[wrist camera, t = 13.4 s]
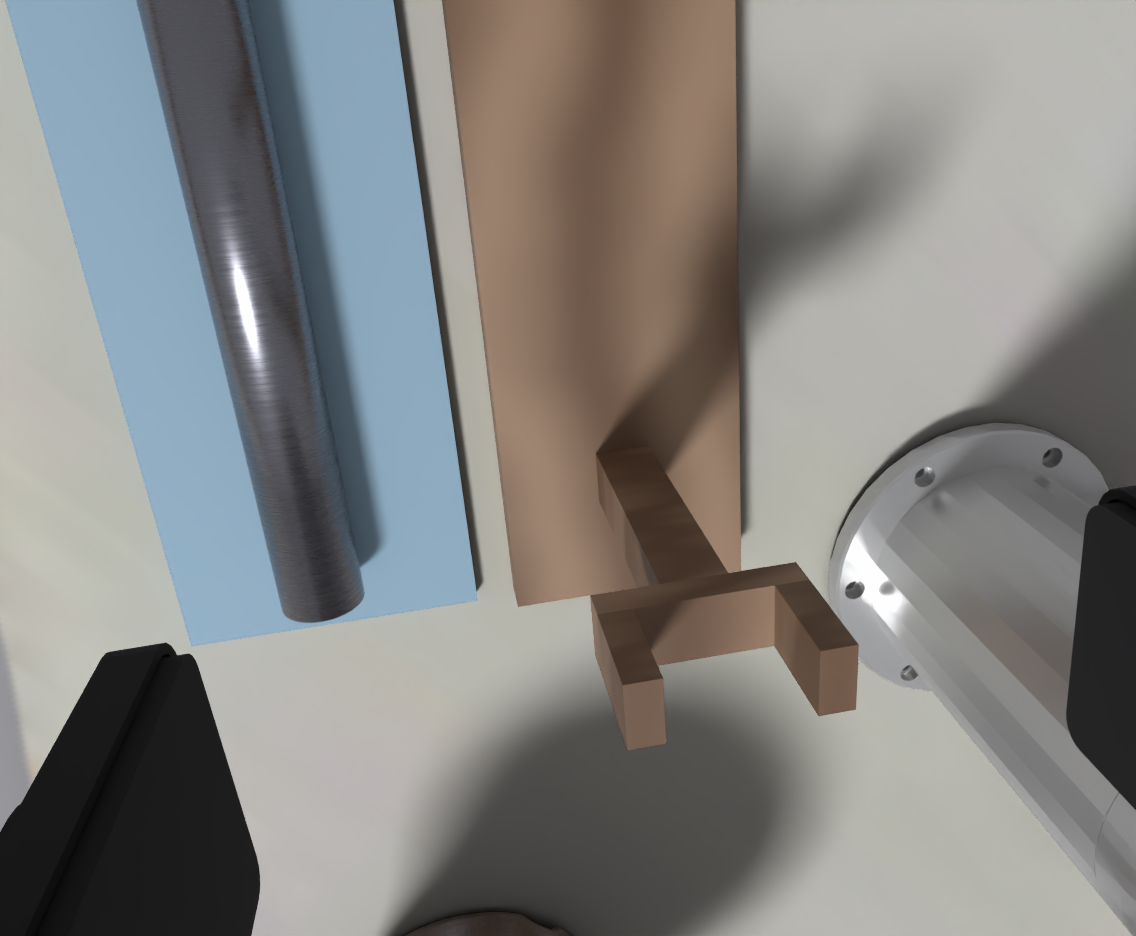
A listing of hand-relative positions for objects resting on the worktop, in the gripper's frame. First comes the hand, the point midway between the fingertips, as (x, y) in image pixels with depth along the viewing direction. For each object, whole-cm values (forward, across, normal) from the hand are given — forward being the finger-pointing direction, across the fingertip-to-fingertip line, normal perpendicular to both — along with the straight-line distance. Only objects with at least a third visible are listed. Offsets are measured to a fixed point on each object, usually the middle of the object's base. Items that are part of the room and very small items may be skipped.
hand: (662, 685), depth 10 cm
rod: (+25, +8, -3) cm, 27 cm away
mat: (+26, +8, -3) cm, 27 cm away
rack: (+26, -4, 0) cm, 27 cm away
